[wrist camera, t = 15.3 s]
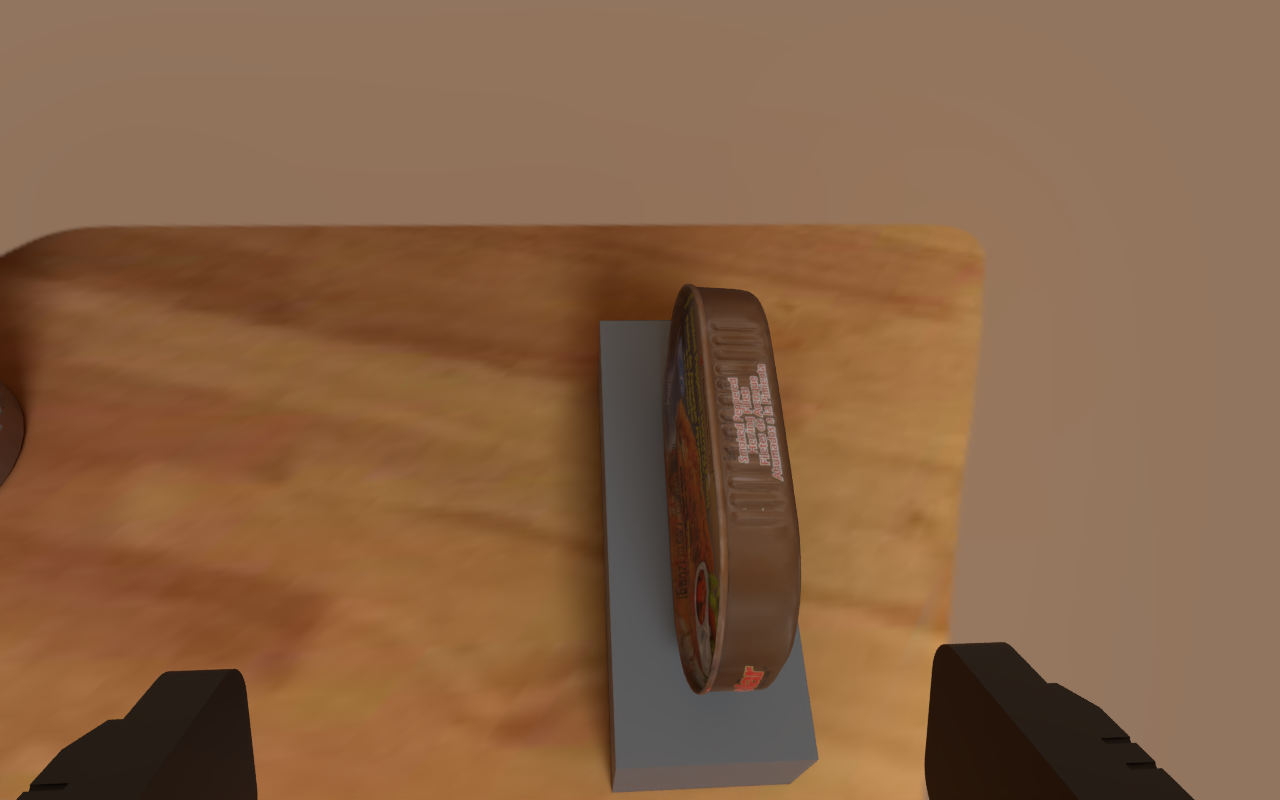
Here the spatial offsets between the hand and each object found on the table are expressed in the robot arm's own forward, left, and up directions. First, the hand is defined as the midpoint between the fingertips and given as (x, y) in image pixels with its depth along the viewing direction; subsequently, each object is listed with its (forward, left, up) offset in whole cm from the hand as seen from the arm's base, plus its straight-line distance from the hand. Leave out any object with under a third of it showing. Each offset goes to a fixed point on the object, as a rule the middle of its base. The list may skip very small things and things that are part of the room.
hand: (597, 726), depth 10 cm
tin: (+5, +12, -22) cm, 25 cm away
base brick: (+5, +13, -27) cm, 30 cm away
